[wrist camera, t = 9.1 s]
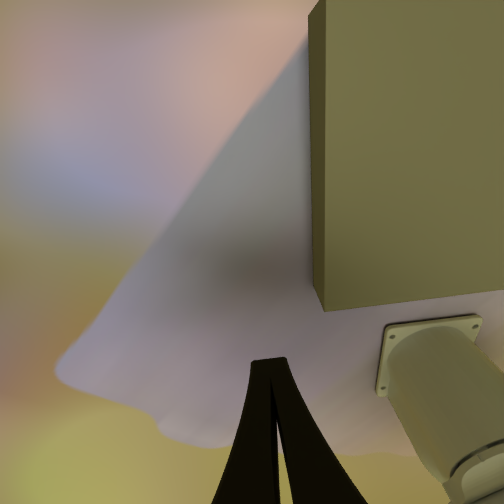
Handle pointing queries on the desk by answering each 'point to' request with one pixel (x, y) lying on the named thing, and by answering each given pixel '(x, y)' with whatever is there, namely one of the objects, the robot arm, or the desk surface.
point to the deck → (406, 149)
